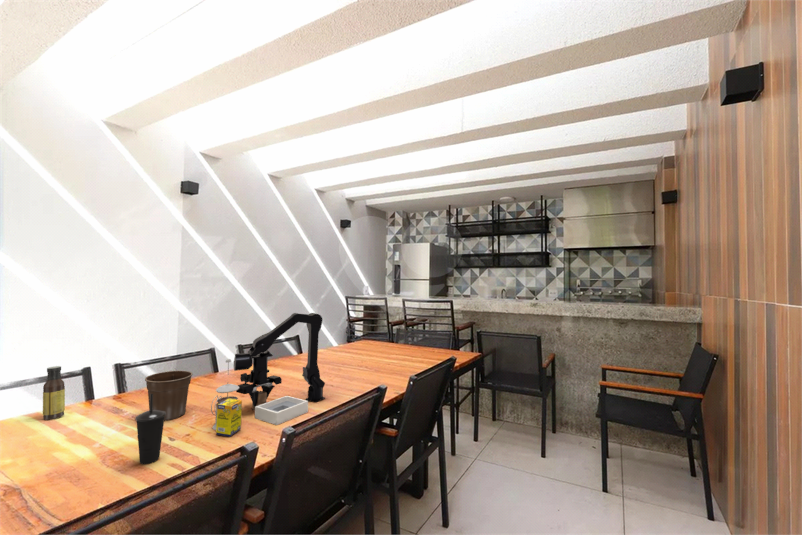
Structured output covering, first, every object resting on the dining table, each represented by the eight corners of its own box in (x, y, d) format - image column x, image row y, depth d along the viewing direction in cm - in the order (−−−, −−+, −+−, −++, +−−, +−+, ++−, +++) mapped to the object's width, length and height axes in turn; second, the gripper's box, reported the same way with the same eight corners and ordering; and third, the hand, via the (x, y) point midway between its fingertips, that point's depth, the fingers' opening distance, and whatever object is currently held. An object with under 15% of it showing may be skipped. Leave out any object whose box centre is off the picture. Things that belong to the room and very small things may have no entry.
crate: (286, 406, 154) (286, 395, 155) (307, 411, 148) (308, 401, 148) (254, 418, 141) (255, 406, 141) (276, 425, 134) (277, 413, 134)
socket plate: (286, 405, 153) (286, 400, 153) (305, 410, 148) (305, 405, 148) (257, 415, 141) (258, 411, 141) (277, 421, 135) (277, 417, 135)
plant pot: (197, 415, 143) (198, 375, 143) (149, 427, 131) (150, 383, 132) (184, 405, 154) (185, 368, 155) (139, 415, 142) (140, 375, 143)
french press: (246, 422, 137) (248, 357, 138) (222, 434, 126) (224, 363, 127) (227, 418, 140) (228, 355, 141) (201, 430, 129) (203, 361, 130)
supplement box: (230, 437, 124) (231, 406, 123) (215, 434, 125) (216, 404, 125) (241, 429, 129) (242, 400, 129) (227, 427, 131) (228, 398, 130)
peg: (260, 407, 153) (260, 390, 153) (266, 408, 151) (266, 392, 151) (252, 410, 149) (252, 393, 150) (258, 411, 147) (258, 394, 148)
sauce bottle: (67, 413, 144) (69, 364, 144) (59, 419, 138) (61, 368, 139) (47, 415, 142) (49, 365, 142) (37, 421, 136) (40, 369, 136)
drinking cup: (144, 454, 111) (146, 390, 112) (169, 453, 112) (171, 389, 112) (127, 467, 103) (130, 398, 104) (155, 466, 104) (157, 397, 105)
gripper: (266, 361, 163) (265, 395, 162) (228, 369, 147) (227, 407, 146) (282, 364, 157) (282, 399, 157) (245, 373, 141) (244, 413, 141)
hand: (259, 404), depth 150 cm, fingers closed on peg, 4 cm apart
